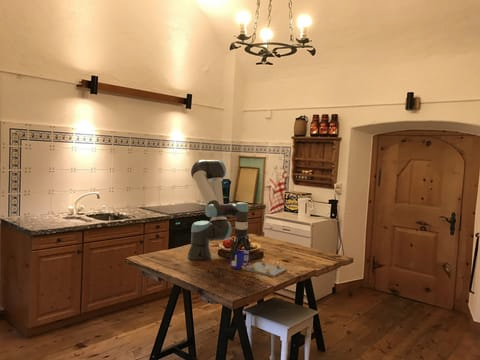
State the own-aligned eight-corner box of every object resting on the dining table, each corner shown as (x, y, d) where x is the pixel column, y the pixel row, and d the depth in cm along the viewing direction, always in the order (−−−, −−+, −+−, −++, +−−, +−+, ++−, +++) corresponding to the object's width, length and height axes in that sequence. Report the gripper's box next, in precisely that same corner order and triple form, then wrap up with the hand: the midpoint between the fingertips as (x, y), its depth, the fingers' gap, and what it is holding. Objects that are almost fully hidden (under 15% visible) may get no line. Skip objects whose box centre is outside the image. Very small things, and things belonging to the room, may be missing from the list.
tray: (244, 270, 240) (244, 263, 239) (257, 263, 253) (257, 257, 253) (274, 277, 229) (274, 270, 229) (286, 270, 243) (286, 263, 242)
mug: (248, 271, 238) (248, 254, 237) (228, 269, 240) (228, 252, 239) (250, 267, 246) (251, 251, 245) (231, 265, 248) (231, 249, 247)
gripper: (235, 232, 228) (233, 269, 230) (257, 226, 249) (255, 260, 251) (224, 230, 232) (223, 266, 234) (246, 224, 253) (245, 257, 255)
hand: (240, 263), depth 242 cm, fingers open, 13 cm apart
